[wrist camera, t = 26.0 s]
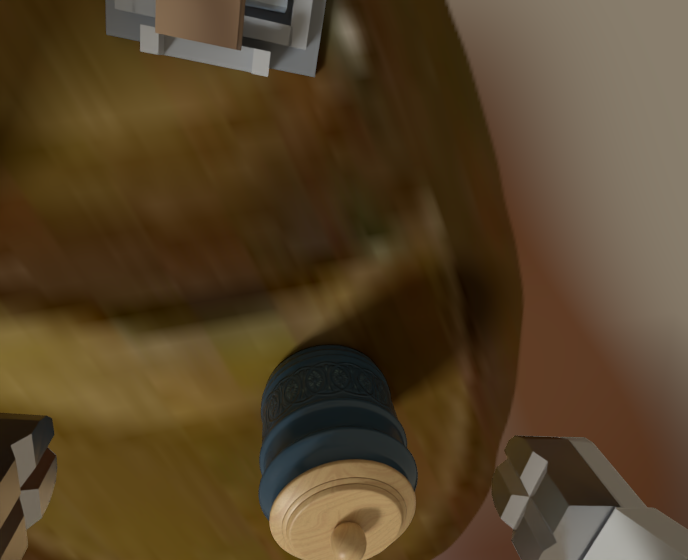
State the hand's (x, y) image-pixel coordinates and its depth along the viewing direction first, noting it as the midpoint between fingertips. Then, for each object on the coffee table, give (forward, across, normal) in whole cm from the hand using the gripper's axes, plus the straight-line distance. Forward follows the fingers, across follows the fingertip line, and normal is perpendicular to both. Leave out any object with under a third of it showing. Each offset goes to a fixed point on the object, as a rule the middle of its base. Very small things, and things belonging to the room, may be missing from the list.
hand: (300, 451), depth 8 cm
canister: (+31, -8, +24) cm, 40 cm away
